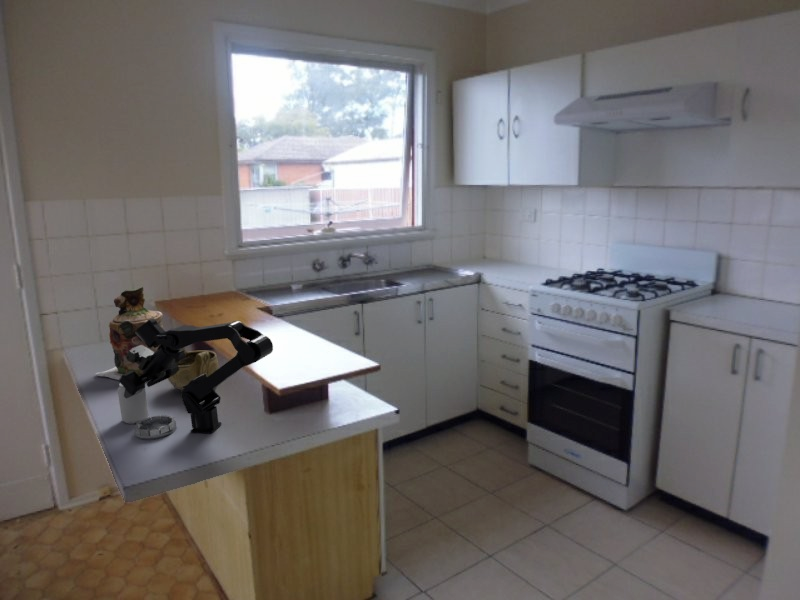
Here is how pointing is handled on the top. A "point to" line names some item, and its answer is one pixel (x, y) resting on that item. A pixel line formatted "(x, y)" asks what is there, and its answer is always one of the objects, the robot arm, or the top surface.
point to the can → (133, 406)
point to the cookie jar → (128, 331)
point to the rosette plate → (155, 427)
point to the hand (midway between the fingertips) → (136, 391)
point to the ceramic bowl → (194, 367)
